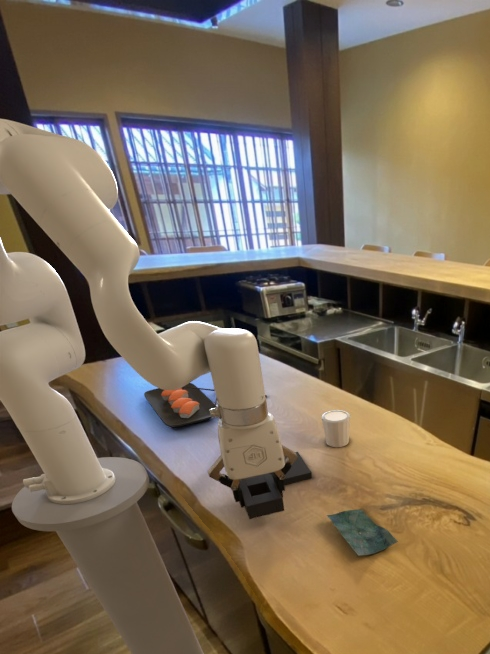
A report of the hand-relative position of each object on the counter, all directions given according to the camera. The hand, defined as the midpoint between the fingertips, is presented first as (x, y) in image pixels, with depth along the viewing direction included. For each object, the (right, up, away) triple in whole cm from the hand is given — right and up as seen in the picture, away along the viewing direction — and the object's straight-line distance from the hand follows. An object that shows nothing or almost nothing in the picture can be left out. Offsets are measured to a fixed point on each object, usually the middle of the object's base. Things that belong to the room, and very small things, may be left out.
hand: (260, 497), depth 81 cm
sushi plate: (-28, +30, +44) cm, 60 cm away
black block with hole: (0, -1, +1) cm, 1 cm away
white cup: (+12, +15, +25) cm, 31 cm away
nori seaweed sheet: (+19, -7, -3) cm, 21 cm away
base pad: (-1, +6, +13) cm, 14 cm away
